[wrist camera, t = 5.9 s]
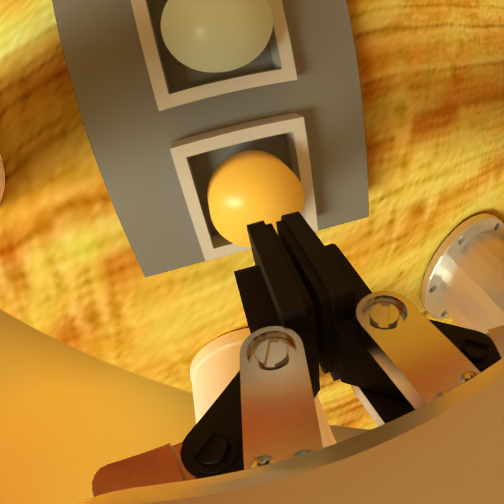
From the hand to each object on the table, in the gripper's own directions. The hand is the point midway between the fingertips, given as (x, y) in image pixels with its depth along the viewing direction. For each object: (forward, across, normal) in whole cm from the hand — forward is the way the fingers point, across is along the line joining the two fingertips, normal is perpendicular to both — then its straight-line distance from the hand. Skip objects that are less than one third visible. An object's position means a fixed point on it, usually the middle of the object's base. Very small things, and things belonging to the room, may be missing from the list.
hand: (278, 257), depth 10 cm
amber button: (+6, 0, 0) cm, 6 cm away
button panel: (+10, 0, -8) cm, 13 cm away
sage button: (+6, 0, -8) cm, 10 cm away
